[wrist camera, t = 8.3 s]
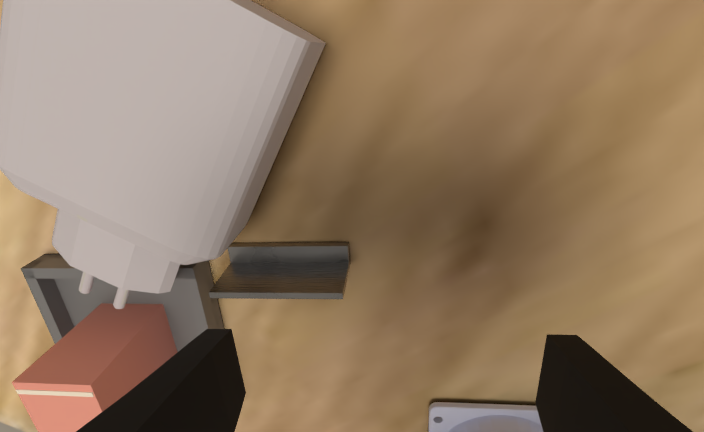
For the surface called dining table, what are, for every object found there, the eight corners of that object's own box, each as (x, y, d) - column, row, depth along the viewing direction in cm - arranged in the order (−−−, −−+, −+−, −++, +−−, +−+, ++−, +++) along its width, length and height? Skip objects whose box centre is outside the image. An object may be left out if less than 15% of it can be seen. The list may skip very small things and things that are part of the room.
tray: (240, 398, 24) (231, 419, 23) (103, 393, 25) (86, 413, 24) (206, 253, 20) (192, 268, 19) (44, 254, 21) (21, 268, 20)
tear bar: (350, 263, 20) (342, 299, 17) (234, 263, 20) (209, 298, 18) (348, 242, 19) (340, 275, 16) (230, 243, 20) (204, 275, 17)
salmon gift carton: (180, 364, 23) (120, 455, 18) (123, 362, 23) (47, 451, 18) (163, 304, 21) (90, 385, 16) (101, 303, 21) (11, 383, 16)
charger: (49, 234, 21) (110, -80, 15) (212, 309, 22) (329, 42, 16) (-43, 284, 16) (-7, -133, 10) (166, 375, 17) (305, 39, 11)
